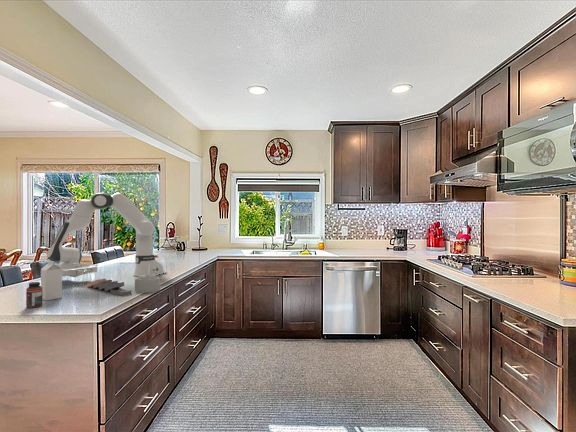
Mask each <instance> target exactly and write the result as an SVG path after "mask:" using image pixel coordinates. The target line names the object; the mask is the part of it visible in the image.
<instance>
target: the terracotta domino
mask: <svg viewBox="0 0 576 432" xmlns="http://www.w3.org/2000/svg"><path fill="white" fill-rule="evenodd" d="M106 280H107V278H99V279H96V280H93V281H91V282H88V283H86V287H87V288H91V287H93V285H95V284H97V283H99V282H102V281H106Z"/></svg>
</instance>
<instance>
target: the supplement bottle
mask: <svg viewBox="0 0 576 432" xmlns="http://www.w3.org/2000/svg"><path fill="white" fill-rule="evenodd" d="M25 290H26V291H25V293H26V294H25V296H26V297H25V298H26V299H25V306H26V307H25V308H27V309H36V308H40V307H42V306H43V299H42V287H41V281H31V282H29V283H28V287H27V288H26V289H25Z"/></svg>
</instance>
